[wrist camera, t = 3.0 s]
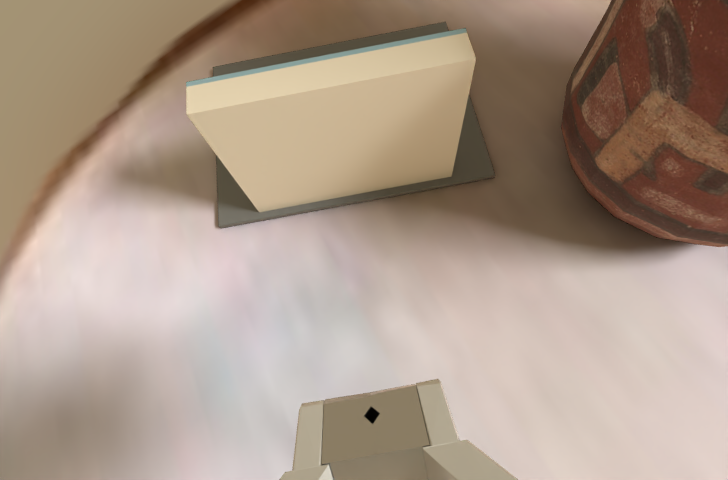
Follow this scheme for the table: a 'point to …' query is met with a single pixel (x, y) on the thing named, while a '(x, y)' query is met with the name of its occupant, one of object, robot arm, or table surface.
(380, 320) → the table surface
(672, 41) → the pottery
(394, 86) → the tile
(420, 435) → the robot arm
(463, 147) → the mat
